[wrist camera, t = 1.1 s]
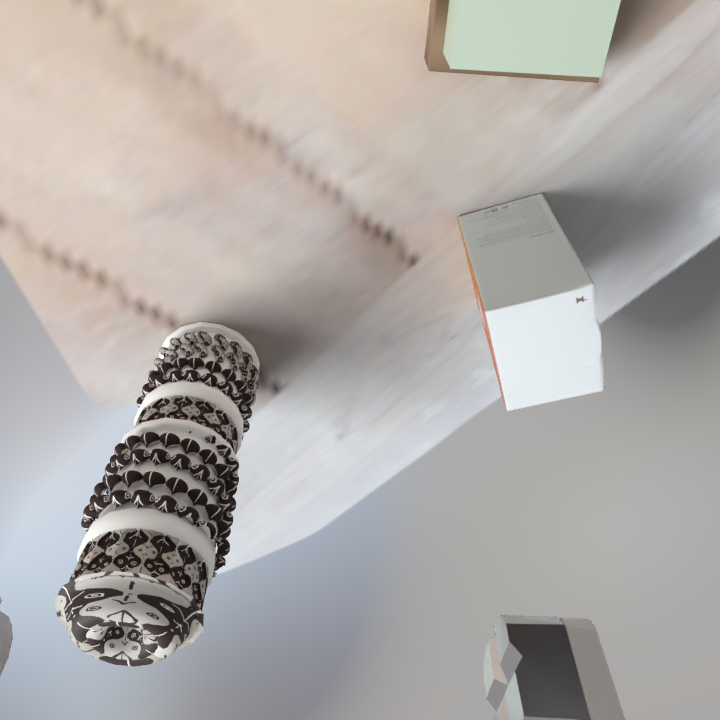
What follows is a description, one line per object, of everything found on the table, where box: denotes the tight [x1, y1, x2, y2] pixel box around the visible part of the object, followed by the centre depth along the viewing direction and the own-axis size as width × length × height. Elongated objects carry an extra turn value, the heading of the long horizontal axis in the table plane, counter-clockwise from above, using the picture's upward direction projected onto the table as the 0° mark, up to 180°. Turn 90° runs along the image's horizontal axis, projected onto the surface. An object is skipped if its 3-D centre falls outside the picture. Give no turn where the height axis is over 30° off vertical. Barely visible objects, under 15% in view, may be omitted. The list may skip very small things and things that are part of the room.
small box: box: [457, 194, 605, 411], centre depth 43 cm, size 8×6×13 cm
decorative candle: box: [54, 322, 260, 666], centre depth 45 cm, size 9×9×25 cm
